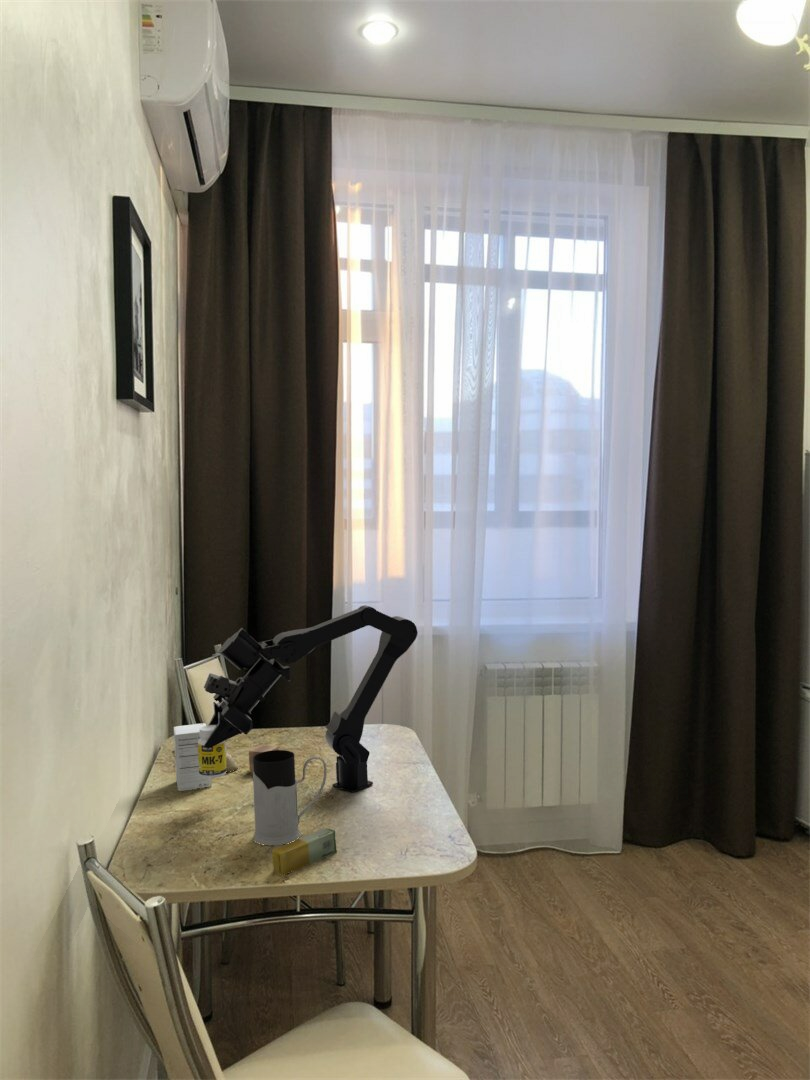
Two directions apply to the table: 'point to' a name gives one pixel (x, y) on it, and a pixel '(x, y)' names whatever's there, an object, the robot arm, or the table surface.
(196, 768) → the supplement box
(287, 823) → the glass holder
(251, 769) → the tan cube
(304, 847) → the medication box
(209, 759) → the supplement bottle
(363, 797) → the table surface
